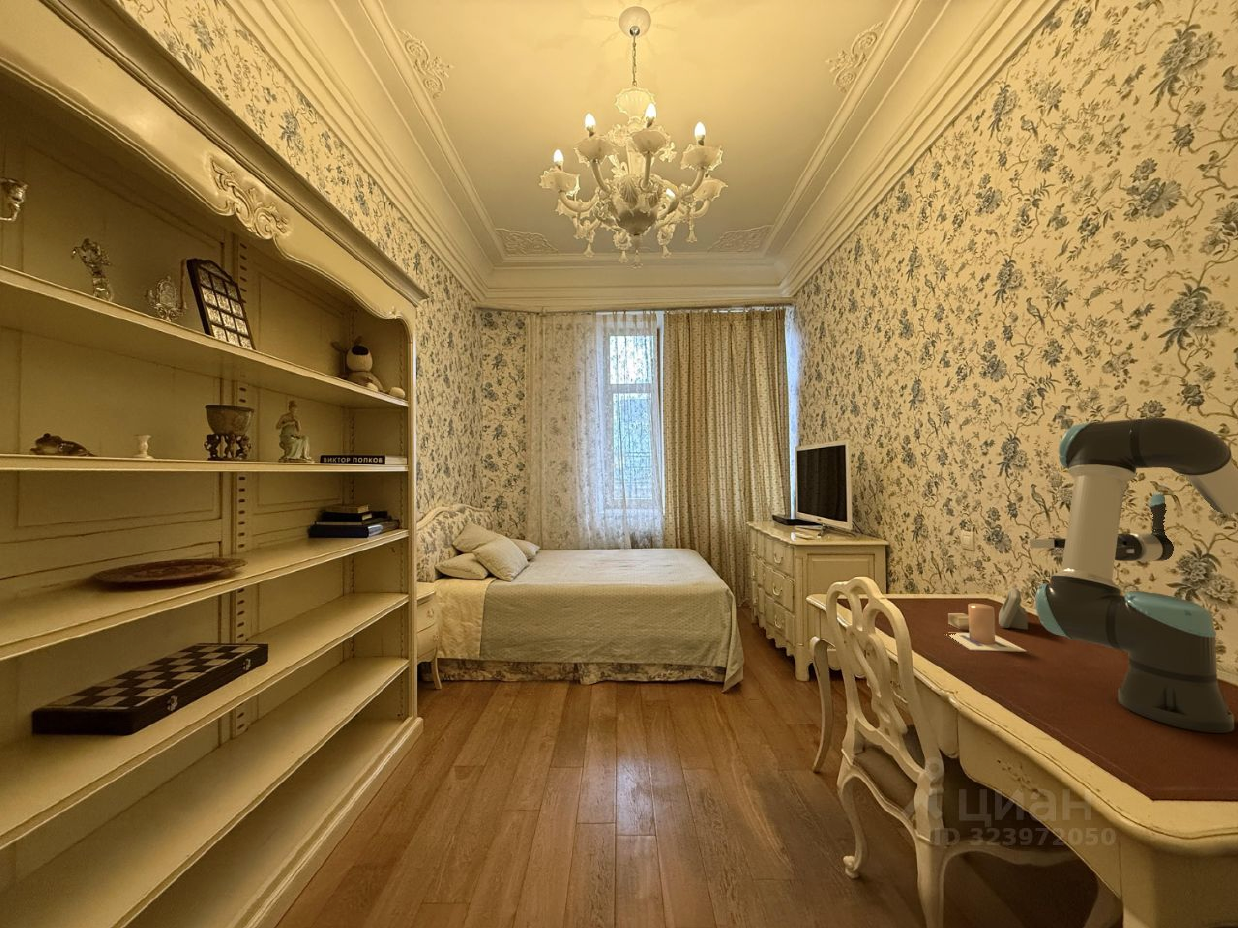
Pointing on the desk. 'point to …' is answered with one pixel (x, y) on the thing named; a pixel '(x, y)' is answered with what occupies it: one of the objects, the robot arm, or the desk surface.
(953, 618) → the ash block
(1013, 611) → the digital clock
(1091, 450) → the robot arm
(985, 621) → the terracotta canister
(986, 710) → the desk surface
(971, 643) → the letter card
